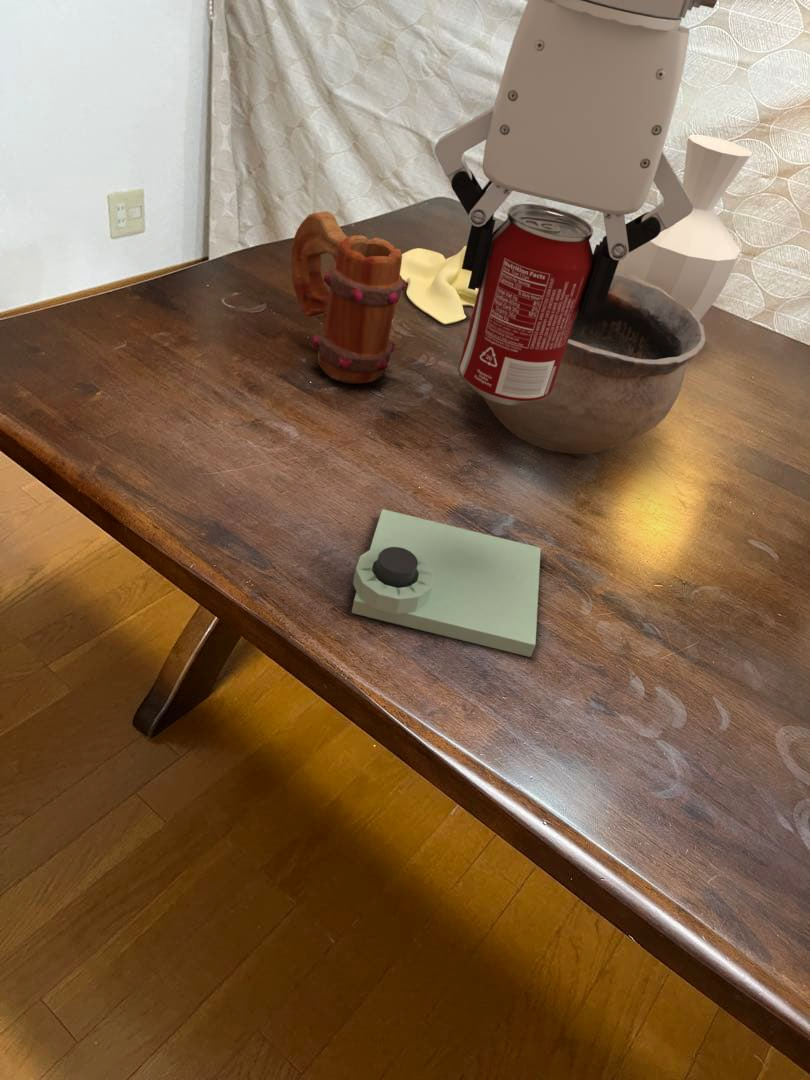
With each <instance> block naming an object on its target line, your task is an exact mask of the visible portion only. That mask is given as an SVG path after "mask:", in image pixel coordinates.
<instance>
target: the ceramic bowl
mask: <svg viewBox="0 0 810 1080" xmlns="http://www.w3.org/2000/svg"><path fill="white" fill-rule="evenodd" d="M706 341H707V337H706V332H705V326H704V325H703V324H702V322H701V321H699V320H698V318H697V317H696V315H695V314H694V312H693V311H691V310H690V309H688V308H686V307H685V306H683V305H681V304H680V303H678V302H677V301H676V300H675V299H674V298H673V297H671V296H670V295H669V294H668V293H666V292H665V291H664V290H663V289H661V288H658V287H656V286H654V285H651V284H649V283H647V282H645V281H643V280H640V279H638V278H636V277H633V276H630V275H627V274H624V273H621V272H619V271H615V274H614V277H613V280H612V283H611V286H610V289H609V291H608V294H607V297H606V300H605V302H604V303H601V302H597V301H595V304H594V307H593V310H592V313H591V316H590V318H588V317H584V316H582V314H581V313H579V309H578V312H577V315H576V318H575V321H574V324H573V328H572V331H571V334H570V337H569V340H568V343H567V346H566V349H565V352H564V355H563V358H562V361H561V364H560V367H559V370H558V373H557V376H556V379H555V382H554V385H553V388H552V391H551V393H550V395H549V396H548V397H547V398H546V399H544V400H542V401H540V402H536V403H531V404H524V405H507V404H502V403H498V402H495V401H492V400H489V399H487V398H485V397H483V396H482V398H483V399H484V401H485V402H486V404H487V406H488V407H489V408H490V410H491V411H492V413H493V414H494V415H495V417H496V418H497V419H498V421H500V423H501V424H502V425H503V426H504V427H505V428H507V429H508V431H510V432H511V433H512V434H514V435H515V436H516V437H518V438H519V439H521V440H523V441H524V442H526V443H528V444H531V445H534V446H536V447H538V448H542V449H545V450H548V451H552V452H557V453H564V454H574V455H575V454H577V455H579V454H580V455H581V454H595V453H599V452H604V451H607V450H610V449H613V448H616V447H621V446H625V445H628V444H631V443H632V442H635V441H636V440H638V439H639V438H642V437H643V436H644V435H646V434H647V433H649V432H650V431H652V430H653V429H654V428H656V427H657V426H658V425H659V424H660V423H661V422H662V421H663V420H664V419H666V417H667V415H668V414H669V413H670V411H671V409H672V408H673V406H674V404H675V403H676V401H677V398H678V397H679V395H680V391H681V389H682V385H683V381H684V378H685V374H686V373H685V372H686V367H687V366H686V364H687V363H688V362H689V361H690V360H692V359H693V358H694V357H695V356H696V355H698V353H699V352H700V351H701V350H703V347H704V345H705V342H706Z"/></svg>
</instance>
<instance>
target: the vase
mask: <svg viewBox="0 0 810 1080" xmlns="http://www.w3.org/2000/svg"><path fill="white" fill-rule="evenodd" d="M752 155H753V152H751V151H750V150H749V149H748V148H747V147H744V146H743V145H740V144H738V143H736V142H733V141H729V140H726V139H723V138H719V137H717V136H716V137H715V136H709V135H705V134H689V135H688V136H687V144H686V151H685V161H684V162H685V163H684V170H683V178H682V179H683V181H682V184H683V186H684V188H685V190H686V191H687V193H688V195H689V197H690V199H691V201H692V204H693V210H692V212H691V213H690V214H689V215H688V216H687V217H685V218H683V219H682V220H680V221H679V222H677V223H676V224H674V225H673V226H671V227H670V228H668V229H665V230H664V231H662V232H660V234H659V235H658V236H657V237H656V238H654V239H653V240H651V241H649V242H647V243H645V244H644V245H642V246H640V247H638V248H636V249H635V250H633V251H631V252H629V253H628V255H627V256H626V257H625V258H624V259H622V260H619V263H618V265H617V268H616V271H619V272H621V273H624V274H627V275H630V276H633V277H636V278H638V279H640V280H643V281H645V282H647V283H649V284H651V285H654V286H656V287H658V288H661V289H663V290H664V291H665V292H666V293H668V294H669V295H670V296H671V297H673V298H674V299H675V300H676V301H677V302H678V303H680V304H681V305H683V306H685V307H686V308H688V309H690V310H691V311H693V312H694V314H695V315H696V317H697V318H698V320H699V322H701V320H702V318H703V317H704V316H705V315H706V313H707V312H708V311H709V310H710V308H711V307H712V306H713V304H714V303H715V302H716V301H717V299H718V298H719V296H720V294H721V293H722V292H723V290H724V288H725V287H726V284H727V282H728V280H729V278H730V276H731V274H732V271H733V270H734V267H735V265H736V263H737V260H738V258H739V256H740V254H741V250H740V248H739V247H738V245H737V243H736V242H735V240H734V238H733V237H732V236H731V234H730V232H729V231H728V229H727V227H726V226H725V224H724V223H723V221H722V220H721V219H720V217H719V215H718V214H717V212H716V210H715V207H716V205H717V204H718V203H719V202H720V200H721V198H722V197H723V195H724V194H725V192H727V190H728V188H729V187H730V186H731V184H732V183H733V181H734V180H735V178H736V177H738V175H739V173H740V172H741V170H742V169H743V167H744V166H745V165H746V163H747V162H748V161H749V159H750V157H751V156H752ZM652 210H653V209H651V210H648V211H646V212H644V213H647V212H650V211H652ZM644 213H641V214H638V215H635V216H634V217H633V218H632V219H631V220H630V221H632V220H634V219H636V218H637V217H639V216H641V215H642V214H644Z"/></svg>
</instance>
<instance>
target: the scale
mask: <svg viewBox="0 0 810 1080" xmlns="http://www.w3.org/2000/svg"><path fill="white" fill-rule="evenodd" d="M389 547H400V548H404V549H406V550H408V551H410V552H411V553H413V554H414V555H415V557H416V558H417V561H418V565H417V569H416V573H415V577H414V580H413V582H412V583H411V584H410V585H409V586H407V587H402V588H396V587H392V586H388V585H385V584H383V583H382V582H381V581H379V580H378V579H377V577H376V574H375V571H376V566H377V561H378V557H379V554H380V552H381V551H382V550H384V549H386V548H389ZM541 551H542V548H541V547H539V546H535V545H532V544H527V543H524V542H523V543H522V542H520V541H519V542H518V541H515V540H510V539H506V538H502V537H498V536H494V535H490V534H486V533H482V532H478V531H473V530H470V529H466V528H462V527H458V526H453V525H450V524H445V523H441V522H437V521H433V520H429V519H426V518H422V517H416V516H412V515H408V514H405V513H401V512H396V511H392V510H388V509H384V508H382V509H381V512H380V515H379V517H378V521H377V524H376V528H375V529H374V534H373V537H372V540H371V544H370V547H369V550H367V551H365V552H364V553H362V554H361V555H360V556H359V557H358V559H357V564H356V566H355V571H354V576H353V580H352V585H353V587H354V590H355V591H356V592H355V596H354V599H353V603H352V608H351V614H354V615H358V616H361V617H366V618H371V619H373V620H378V621H382V622H385V623H390V624H394V625H399V626H402V627H406V628H411V629H414V630H417V631H423V632H428V633H431V634H434V635H439V636H443V637H448V638H450V639H451V638H452V639H455V640H459V641H464V642H467V643H471V644H475V645H480V646H483V647H488V648H492V649H496V650H500V651H504V652H508V653H512V654H515V655H521V656H524V657H528V658H531V657H532V655H533V652H534V651H535V648H536V644H537V643H536V642H537V626H538V624H537V623H538V606H539V605H538V604H539V590H540V589H539V586H540V585H539V584H540V567H541Z"/></svg>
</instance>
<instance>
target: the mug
mask: <svg viewBox="0 0 810 1080" xmlns="http://www.w3.org/2000/svg"><path fill="white" fill-rule="evenodd" d="M293 238H294V239H293V242H292V246H291V259H290V265H291V267H290V269H291V278H292V284H293V288H294V291H295V295H296V298H297V301H298V303H299V305H300V307H301V310H302V312H303V314H304V315H305V316H306V317H307V318H309V317H315V316H317V315H321V314H325V313H326V314H325V319H324V322H322V324H320V326H319V329H318V331H317V335H315V336H314V337H312V338H311V345H312V347H313V348H314V349H316V350H317V362H318V365H319V367H320V368H321V369H322V371H323V372H324V374H326V375H327V376H328V377H329V378H331V379H333V380H335V381H338V382H341V383H344V384H350V385H351V384H366V383H367V384H368V383H372V382H374V381H375V380H378V379H379V378H380V377H382V375H383V371H385V370H386V369H388V364H389V362H390V358H391V354H392V353H393V352H394V351H395V348H396V346H395V344H394V342H392V341H391V339H390V334H391V329H392V323H393V320H394V317H395V312H396V305H397V303H398V302H399V300H400V299H401V296H402V293H403V292H402V291H404V290H405V288H406V287H407V283H406V282H405V280H404V279H402V277H401V276H400V270H401V263H402V254H403V253H402V251H401V250H400V249H399V248H395V246H394V245H393V244H392V243H391V242H390V241H388V240H385V239H383V238H379V237H373V238H372V239H368V237H366V236H365V235H362V234H360V235H359V234H358V235H350V236H348V235H346V234H345V233H344V231H343V230H342V228H341V226H340V225H339V223H338V220H337V219H336V216H335V215H334V214H333V213H331V212H329V211H320V212H314V213H310V214H308V215H307V216H306V217H305V218H304V219H303V221H302V222H301V223H300V225H299V226H298V228H297V229H296V232H295V234H294V237H293ZM325 254H329V255H331V256H332V257H333V258H334V260H333V262H332V264H330V266H329V270H328V272H327V273H326V274H325V275H324V276H323V275H322V255H325ZM325 283H326V285H327V286H328V287H329V291H328V288H327V287H326V285H325Z"/></svg>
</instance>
